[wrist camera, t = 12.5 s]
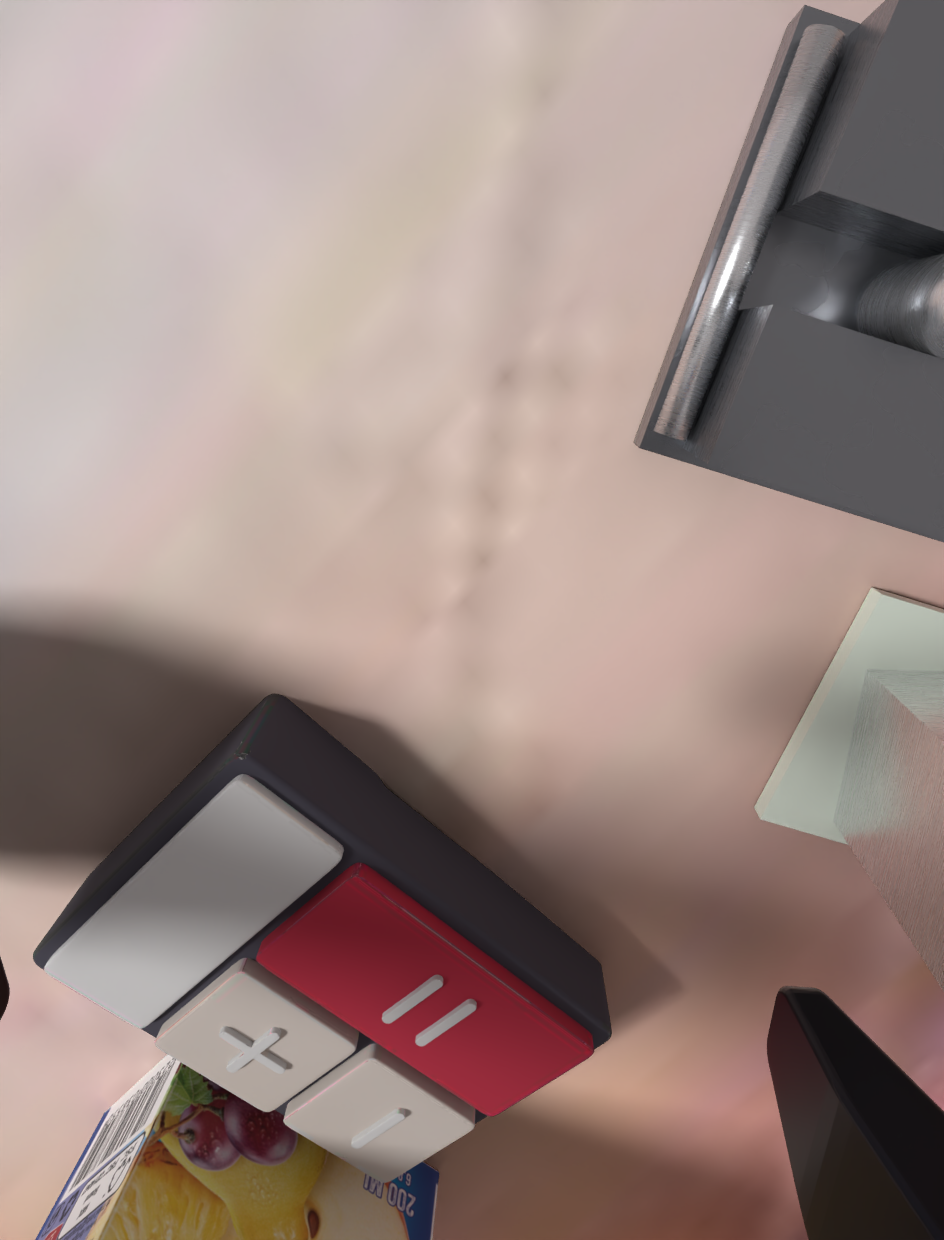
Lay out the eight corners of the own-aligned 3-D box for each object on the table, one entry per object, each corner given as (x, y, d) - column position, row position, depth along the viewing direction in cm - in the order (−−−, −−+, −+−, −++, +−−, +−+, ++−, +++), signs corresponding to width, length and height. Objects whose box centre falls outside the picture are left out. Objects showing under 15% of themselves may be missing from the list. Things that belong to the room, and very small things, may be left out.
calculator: (384, 1205, 25) (8, 982, 21) (399, 1084, 29) (84, 877, 25) (623, 1060, 22) (228, 765, 18) (603, 945, 26) (277, 683, 22)
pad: (754, 807, 22) (760, 819, 21) (871, 587, 19) (882, 594, 19) (979, 872, 22) (991, 886, 22) (1126, 665, 20) (1144, 674, 19)
